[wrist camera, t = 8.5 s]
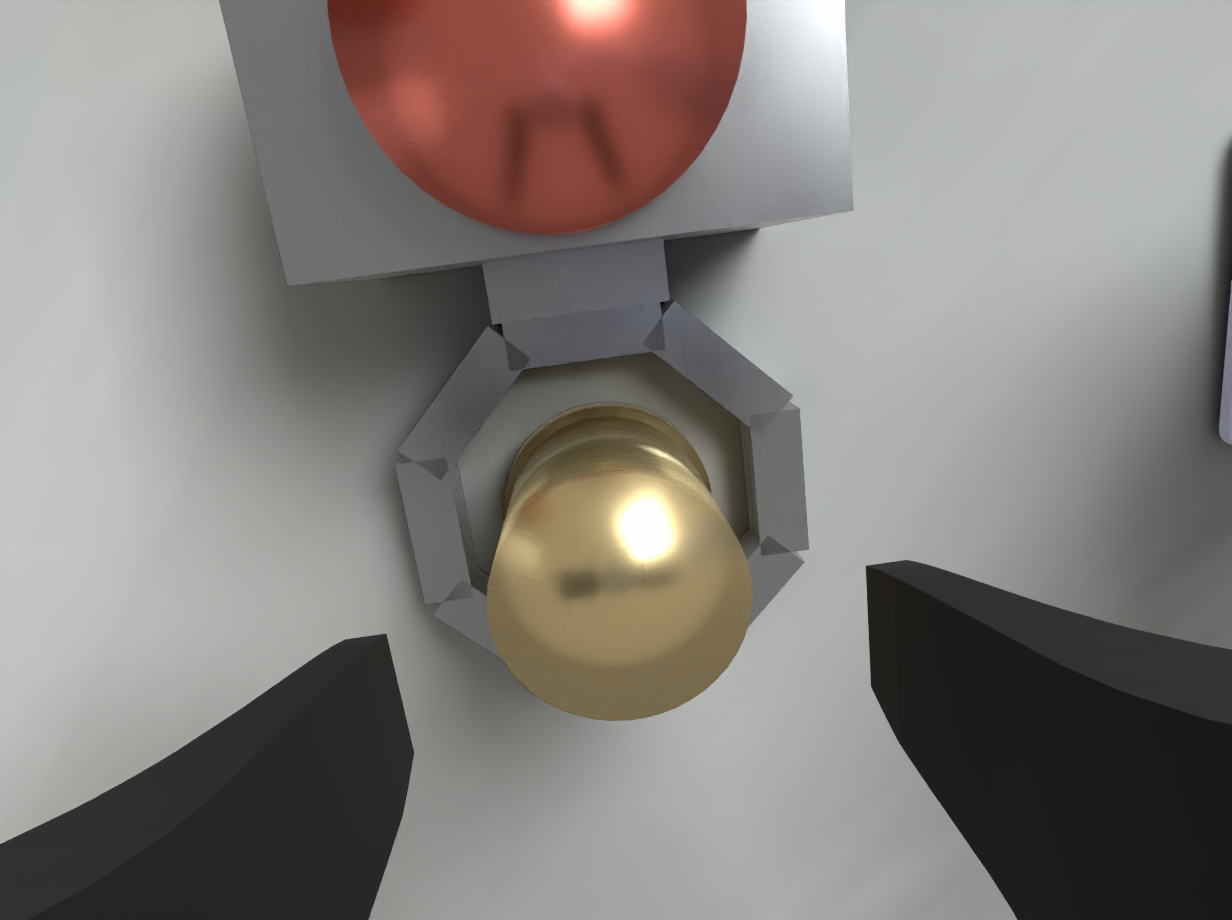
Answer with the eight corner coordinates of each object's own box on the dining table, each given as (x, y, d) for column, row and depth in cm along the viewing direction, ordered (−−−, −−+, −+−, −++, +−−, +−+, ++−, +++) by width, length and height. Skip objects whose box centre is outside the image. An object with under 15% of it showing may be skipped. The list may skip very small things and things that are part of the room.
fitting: (703, 394, 19) (761, 453, 13) (709, 585, 20) (765, 717, 14) (495, 409, 18) (458, 475, 13) (516, 601, 20) (491, 741, 14)
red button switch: (741, -230, 15) (875, -622, 8) (802, 634, 20) (915, 817, 14) (274, -172, 15) (31, -529, 8) (455, 684, 20) (395, 896, 13)
